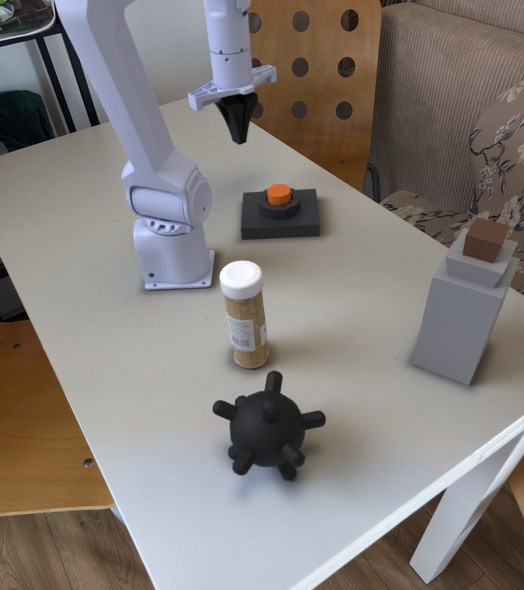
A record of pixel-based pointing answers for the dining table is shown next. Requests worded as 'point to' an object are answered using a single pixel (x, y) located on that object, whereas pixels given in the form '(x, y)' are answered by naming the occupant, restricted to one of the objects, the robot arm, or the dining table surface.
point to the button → (279, 194)
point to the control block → (280, 216)
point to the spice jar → (245, 312)
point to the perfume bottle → (466, 300)
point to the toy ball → (267, 429)
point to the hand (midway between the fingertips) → (239, 141)
